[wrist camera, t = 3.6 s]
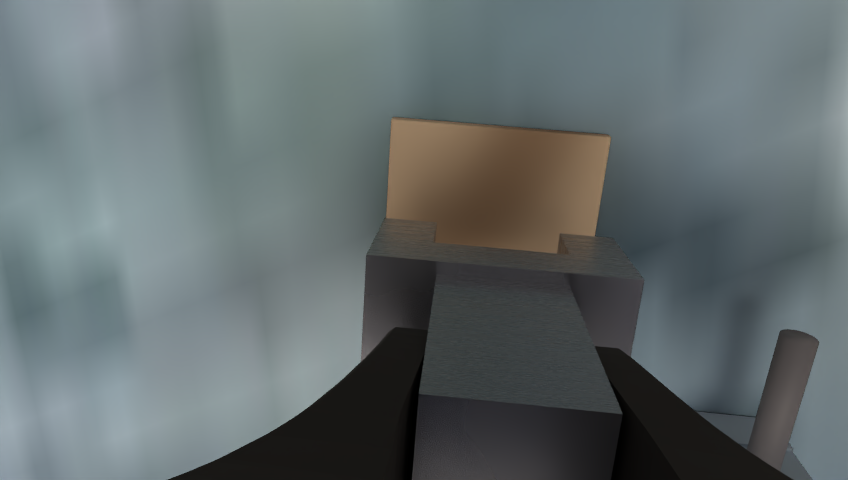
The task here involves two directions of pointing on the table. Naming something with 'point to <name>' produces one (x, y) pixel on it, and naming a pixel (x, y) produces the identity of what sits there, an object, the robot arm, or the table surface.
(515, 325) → the slotted grey block
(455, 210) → the pad
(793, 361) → the vise
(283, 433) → the robot arm
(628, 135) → the table surface
